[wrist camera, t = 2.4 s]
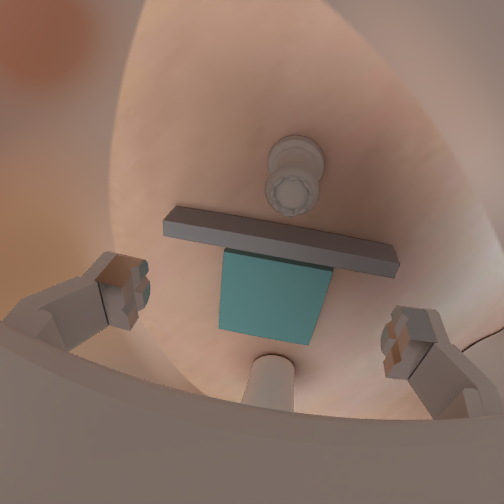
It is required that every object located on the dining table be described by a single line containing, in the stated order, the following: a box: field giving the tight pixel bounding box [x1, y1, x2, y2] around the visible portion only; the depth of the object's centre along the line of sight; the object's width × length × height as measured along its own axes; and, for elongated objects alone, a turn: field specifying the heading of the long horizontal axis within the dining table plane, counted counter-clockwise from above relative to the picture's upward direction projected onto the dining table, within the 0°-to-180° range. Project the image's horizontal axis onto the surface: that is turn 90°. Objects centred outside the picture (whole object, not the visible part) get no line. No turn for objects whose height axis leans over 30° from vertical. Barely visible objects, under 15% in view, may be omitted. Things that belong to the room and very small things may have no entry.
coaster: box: [219, 248, 333, 345], centre depth 31 cm, size 10×10×1 cm
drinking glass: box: [241, 355, 295, 412], centre depth 31 cm, size 7×7×15 cm
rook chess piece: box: [265, 135, 325, 217], centre depth 21 cm, size 4×4×8 cm
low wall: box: [163, 206, 400, 278], centre depth 27 cm, size 20×2×3 cm, turn 84°
